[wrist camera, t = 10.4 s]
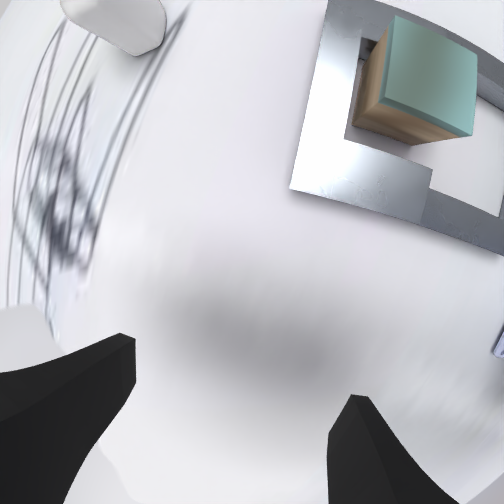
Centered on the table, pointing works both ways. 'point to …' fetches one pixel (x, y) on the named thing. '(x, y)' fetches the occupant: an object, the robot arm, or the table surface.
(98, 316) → the table surface
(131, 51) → the eye dropper bottle
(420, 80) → the plug block
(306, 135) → the keyhole plate
